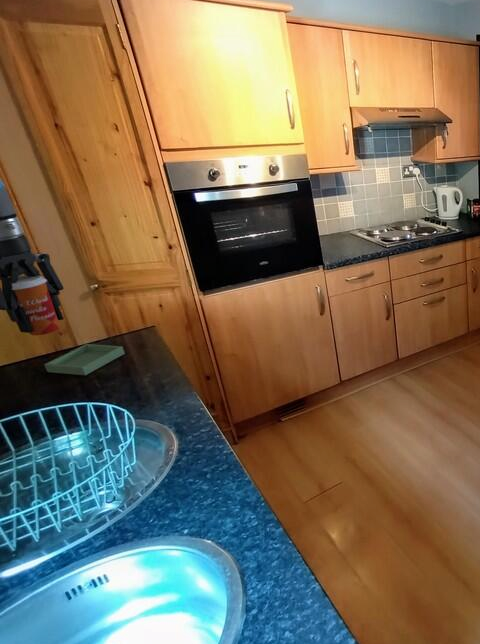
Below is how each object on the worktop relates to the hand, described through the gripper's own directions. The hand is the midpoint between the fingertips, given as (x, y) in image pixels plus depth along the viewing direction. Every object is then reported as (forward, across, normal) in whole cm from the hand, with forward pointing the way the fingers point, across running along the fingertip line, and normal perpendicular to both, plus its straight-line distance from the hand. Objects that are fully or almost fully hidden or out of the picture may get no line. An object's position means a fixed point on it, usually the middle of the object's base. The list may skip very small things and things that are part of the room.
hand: (42, 325), depth 114 cm
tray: (+21, +14, +12) cm, 27 cm away
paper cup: (+2, 0, 0) cm, 2 cm away
